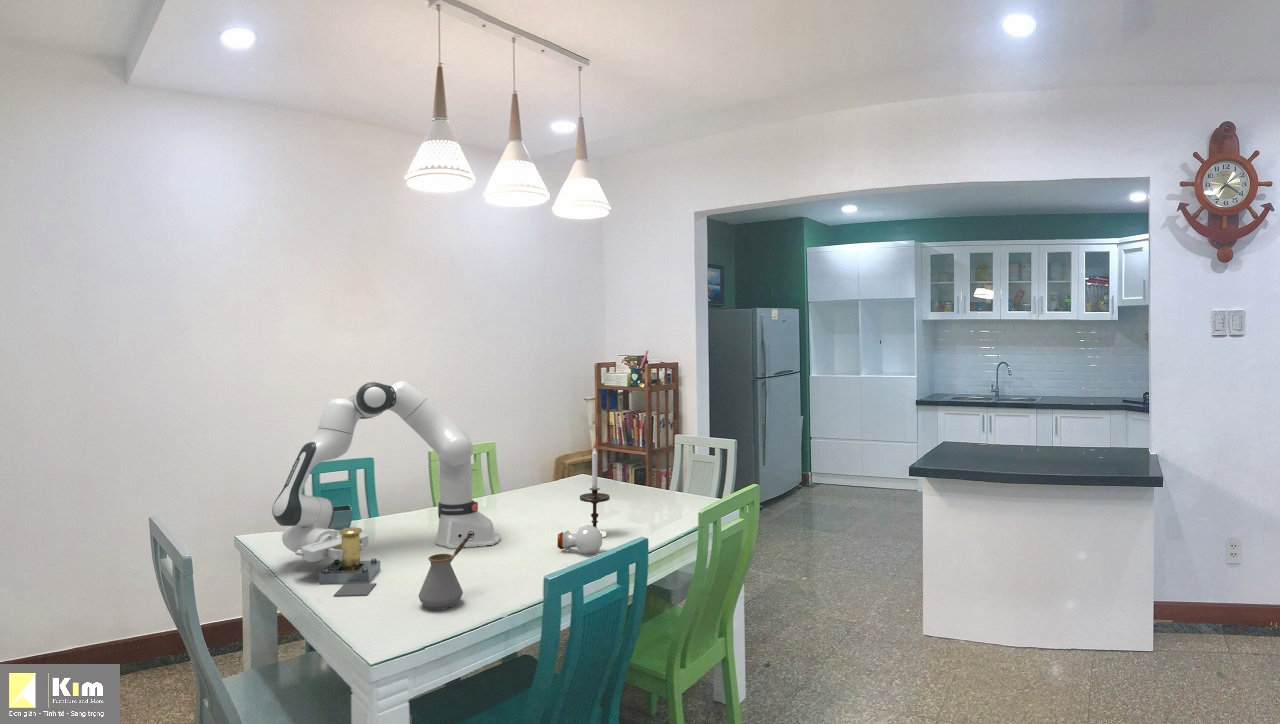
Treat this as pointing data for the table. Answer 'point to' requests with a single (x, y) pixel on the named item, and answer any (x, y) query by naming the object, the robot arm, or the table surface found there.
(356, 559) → the brass flanged cylinder
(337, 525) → the flower pot
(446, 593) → the coffee pot
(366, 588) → the pad
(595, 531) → the potion bottle
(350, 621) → the table surface
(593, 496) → the candlestick
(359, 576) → the housing
